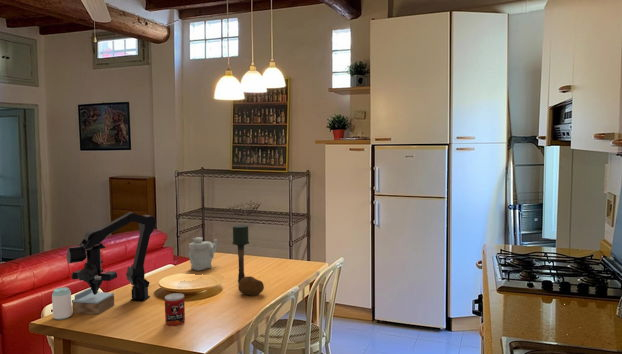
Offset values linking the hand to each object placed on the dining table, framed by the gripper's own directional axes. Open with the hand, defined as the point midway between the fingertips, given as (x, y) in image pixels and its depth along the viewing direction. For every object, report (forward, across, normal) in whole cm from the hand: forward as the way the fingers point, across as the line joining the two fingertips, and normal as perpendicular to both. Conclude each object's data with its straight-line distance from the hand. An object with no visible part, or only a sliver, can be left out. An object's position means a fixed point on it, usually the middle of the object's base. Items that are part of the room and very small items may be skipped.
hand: (95, 294), depth 209 cm
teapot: (+7, +19, +74) cm, 77 cm away
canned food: (+7, +42, -9) cm, 44 cm away
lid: (+2, -1, 0) cm, 2 cm away
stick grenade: (+7, +51, +47) cm, 70 cm away
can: (+7, -8, -11) cm, 15 cm away
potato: (+7, +61, +30) cm, 68 cm away
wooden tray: (+7, -1, 0) cm, 7 cm away
